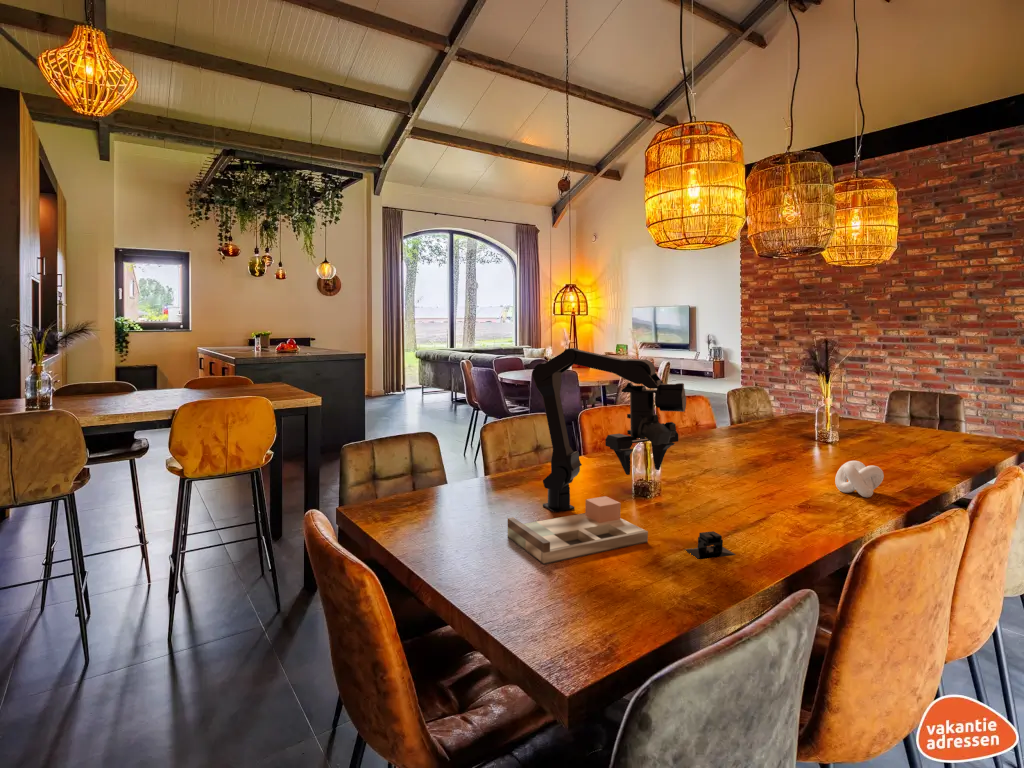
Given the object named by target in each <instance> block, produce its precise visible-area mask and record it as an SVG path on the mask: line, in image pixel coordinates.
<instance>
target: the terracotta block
mask: <svg viewBox="0 0 1024 768" xmlns="http://www.w3.org/2000/svg"><path fill="white" fill-rule="evenodd" d="M621 505H622V503H621V502H620V501H617V500H615V499H613V498H611V497H608V496H607V495H606V496H605V495H604V496H599V497H593V498H587V499H585V511H584V513H585V515H586V516H588V517H589V518H591V519H593V520H595V521H597V522H599V523H602V522H607V521H613V520H618V519H620V518H621Z"/></svg>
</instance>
